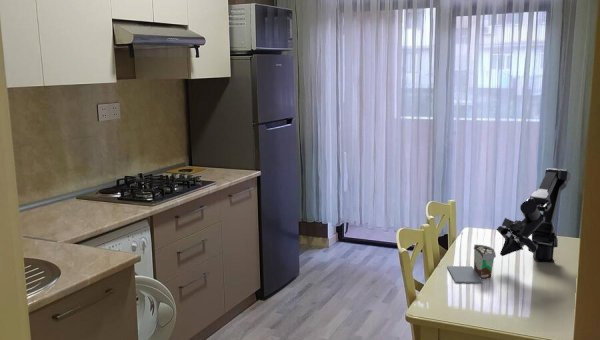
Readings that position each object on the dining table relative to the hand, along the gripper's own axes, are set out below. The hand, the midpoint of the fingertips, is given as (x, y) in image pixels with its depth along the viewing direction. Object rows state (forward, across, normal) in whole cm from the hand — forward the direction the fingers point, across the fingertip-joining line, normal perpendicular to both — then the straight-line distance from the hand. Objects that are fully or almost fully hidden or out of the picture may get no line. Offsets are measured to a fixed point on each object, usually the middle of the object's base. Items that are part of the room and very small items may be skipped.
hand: (501, 255), depth 214 cm
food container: (+9, 0, +1) cm, 9 cm away
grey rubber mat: (+15, -2, -5) cm, 16 cm away
